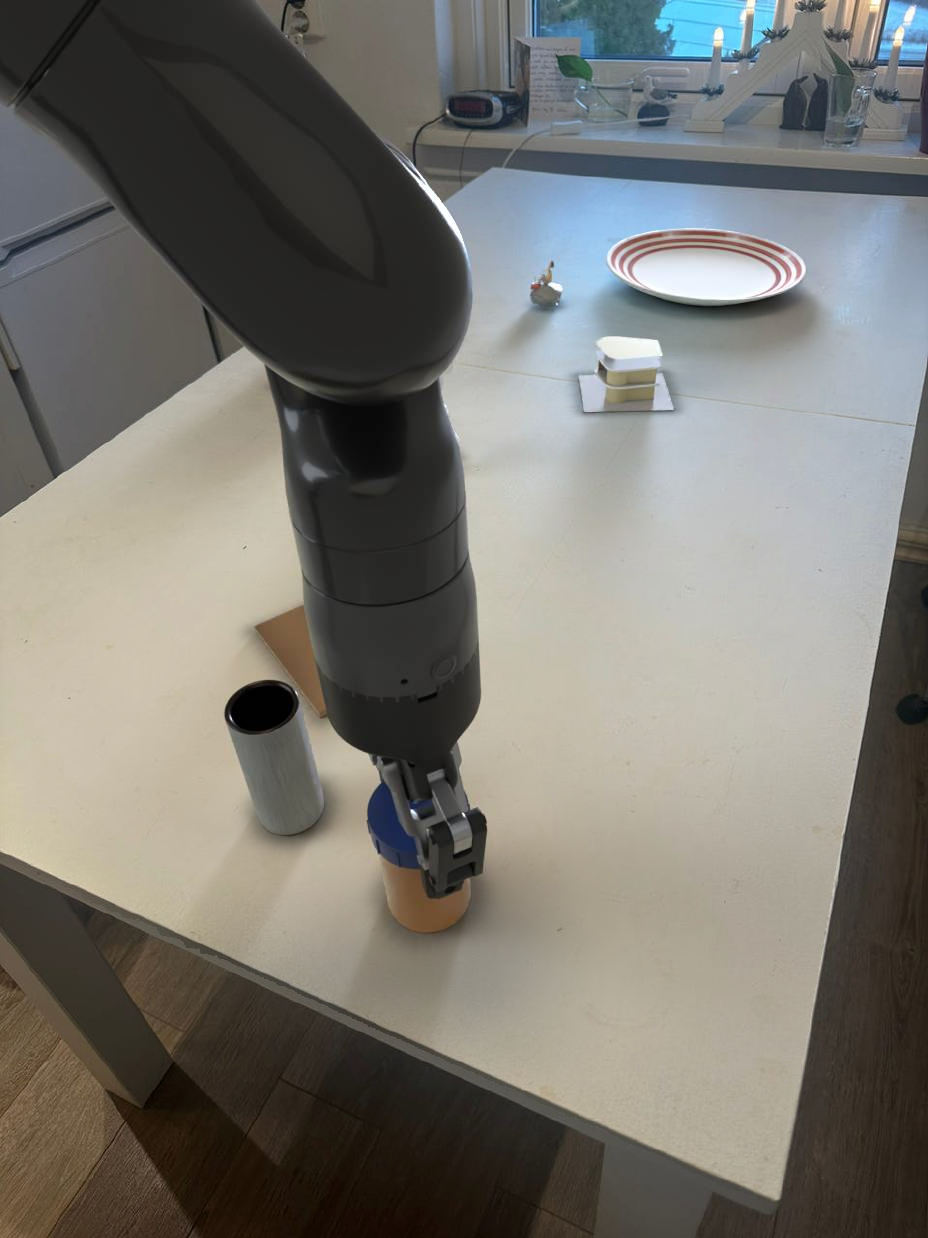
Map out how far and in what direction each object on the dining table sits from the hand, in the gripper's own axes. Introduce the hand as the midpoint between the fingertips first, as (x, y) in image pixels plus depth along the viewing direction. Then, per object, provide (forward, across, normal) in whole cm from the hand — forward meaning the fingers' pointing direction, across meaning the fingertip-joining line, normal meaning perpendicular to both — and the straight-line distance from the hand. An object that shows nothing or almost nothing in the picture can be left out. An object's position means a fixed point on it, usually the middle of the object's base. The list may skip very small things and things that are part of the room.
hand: (423, 844), depth 51 cm
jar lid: (-3, 0, 0) cm, 3 cm away
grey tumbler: (+6, -10, -6) cm, 13 cm away
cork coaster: (+5, -24, +3) cm, 25 cm away
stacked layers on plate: (+6, -50, +45) cm, 68 cm away
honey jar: (+5, 0, 0) cm, 5 cm away
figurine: (+6, -77, +49) cm, 91 cm away
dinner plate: (+6, -73, +72) cm, 103 cm away
